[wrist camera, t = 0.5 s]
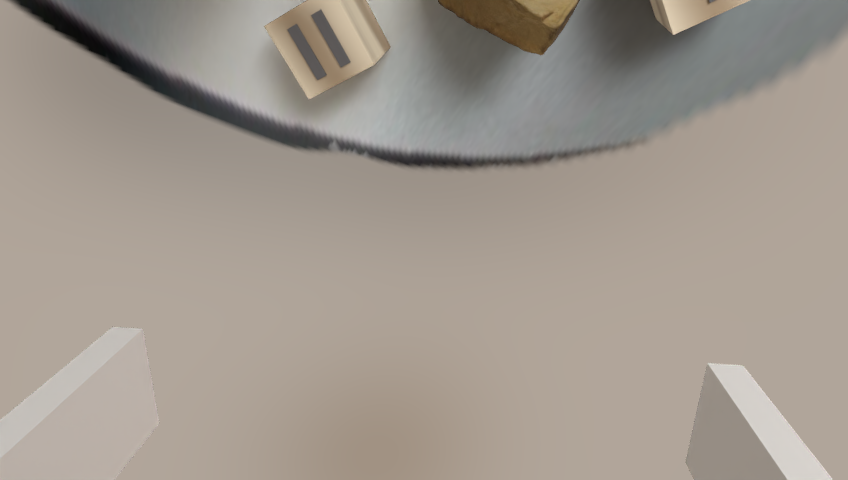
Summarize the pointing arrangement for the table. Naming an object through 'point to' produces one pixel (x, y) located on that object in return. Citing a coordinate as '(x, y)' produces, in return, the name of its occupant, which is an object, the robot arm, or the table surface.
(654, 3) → the birch block
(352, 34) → the birch block
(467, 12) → the rock
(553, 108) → the table surface
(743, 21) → the table surface
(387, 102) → the table surface
